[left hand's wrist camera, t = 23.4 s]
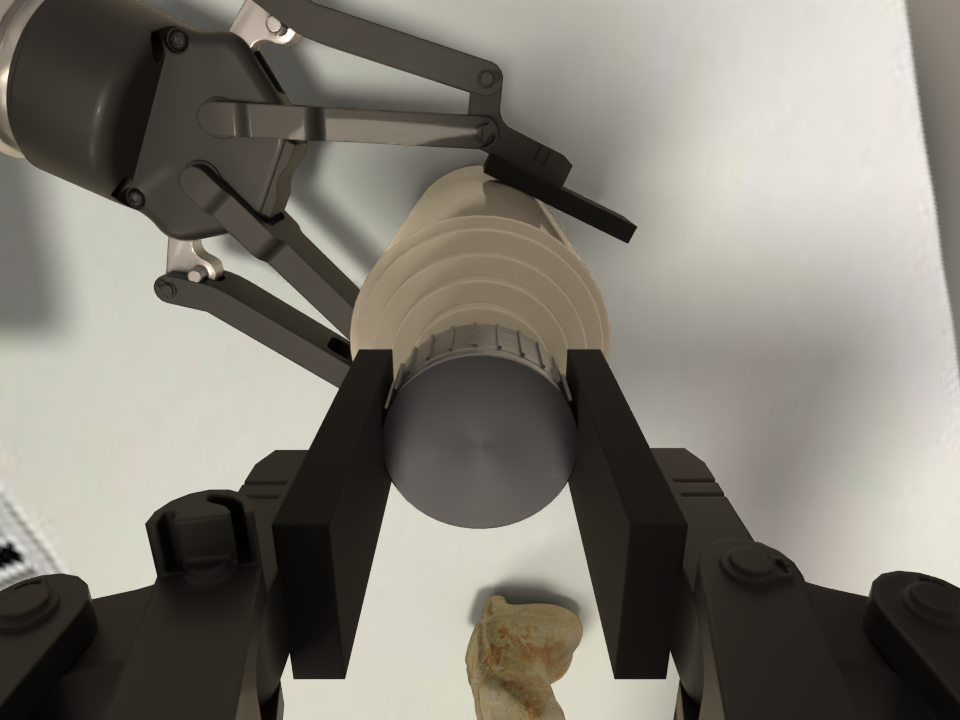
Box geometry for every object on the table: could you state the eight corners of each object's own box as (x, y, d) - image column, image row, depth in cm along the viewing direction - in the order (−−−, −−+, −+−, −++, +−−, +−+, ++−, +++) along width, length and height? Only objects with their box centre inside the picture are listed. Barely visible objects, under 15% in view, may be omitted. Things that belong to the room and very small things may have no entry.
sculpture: (558, 661, 44) (595, 918, 30) (458, 638, 43) (448, 890, 29) (588, 597, 42) (642, 841, 28) (484, 571, 41) (485, 809, 27)
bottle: (413, 310, 35) (325, 575, 15) (403, 167, 32) (279, 262, 12) (550, 306, 35) (643, 567, 15) (552, 163, 32) (669, 251, 12)
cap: (399, 486, 16) (389, 535, 14) (381, 324, 14) (366, 356, 12) (569, 479, 15) (580, 527, 14) (569, 315, 14) (582, 346, 12)
